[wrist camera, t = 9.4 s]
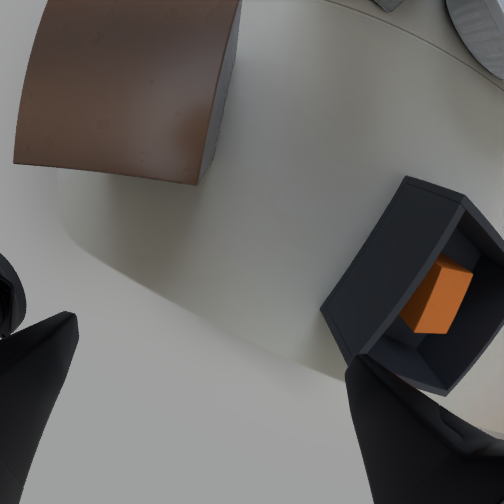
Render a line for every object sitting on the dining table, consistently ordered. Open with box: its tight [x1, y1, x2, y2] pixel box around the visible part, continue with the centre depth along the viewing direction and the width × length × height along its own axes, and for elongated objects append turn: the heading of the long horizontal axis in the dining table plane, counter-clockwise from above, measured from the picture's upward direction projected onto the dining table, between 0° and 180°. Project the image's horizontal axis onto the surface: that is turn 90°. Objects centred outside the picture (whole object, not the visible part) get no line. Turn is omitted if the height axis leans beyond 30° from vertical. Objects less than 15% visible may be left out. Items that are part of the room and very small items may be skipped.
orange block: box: [399, 253, 473, 334], centre depth 20 cm, size 5×4×4 cm
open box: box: [320, 176, 504, 397], centre depth 20 cm, size 12×12×7 cm
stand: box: [13, 0, 242, 186], centre depth 12 cm, size 7×7×10 cm
